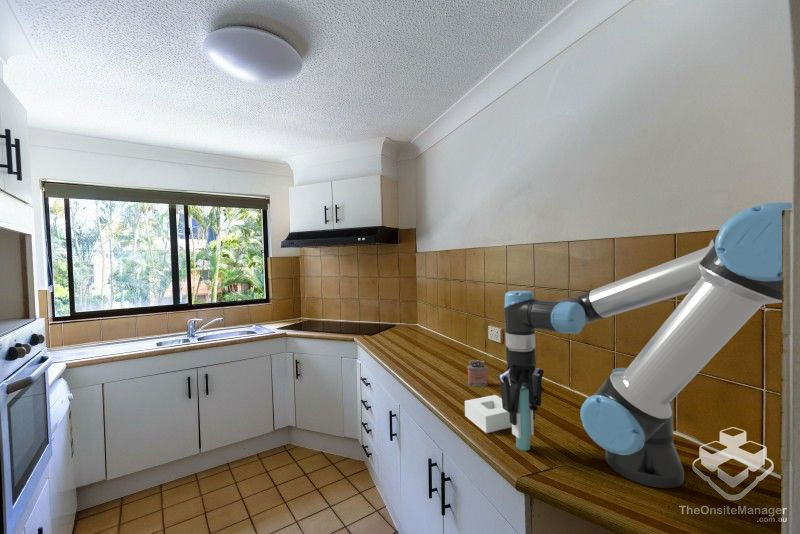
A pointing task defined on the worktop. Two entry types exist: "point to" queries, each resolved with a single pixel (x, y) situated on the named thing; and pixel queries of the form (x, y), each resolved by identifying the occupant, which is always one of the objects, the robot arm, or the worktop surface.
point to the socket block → (487, 413)
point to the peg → (524, 420)
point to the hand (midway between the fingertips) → (522, 433)
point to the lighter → (477, 373)
